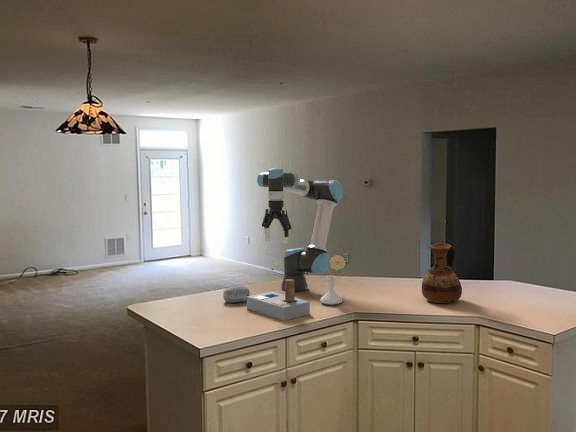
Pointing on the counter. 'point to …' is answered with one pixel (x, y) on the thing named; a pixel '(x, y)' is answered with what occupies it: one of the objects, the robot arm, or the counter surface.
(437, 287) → the ceramic pitcher
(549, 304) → the counter surface
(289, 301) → the peg
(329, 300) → the flower in vase
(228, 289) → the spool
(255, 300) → the socket block
